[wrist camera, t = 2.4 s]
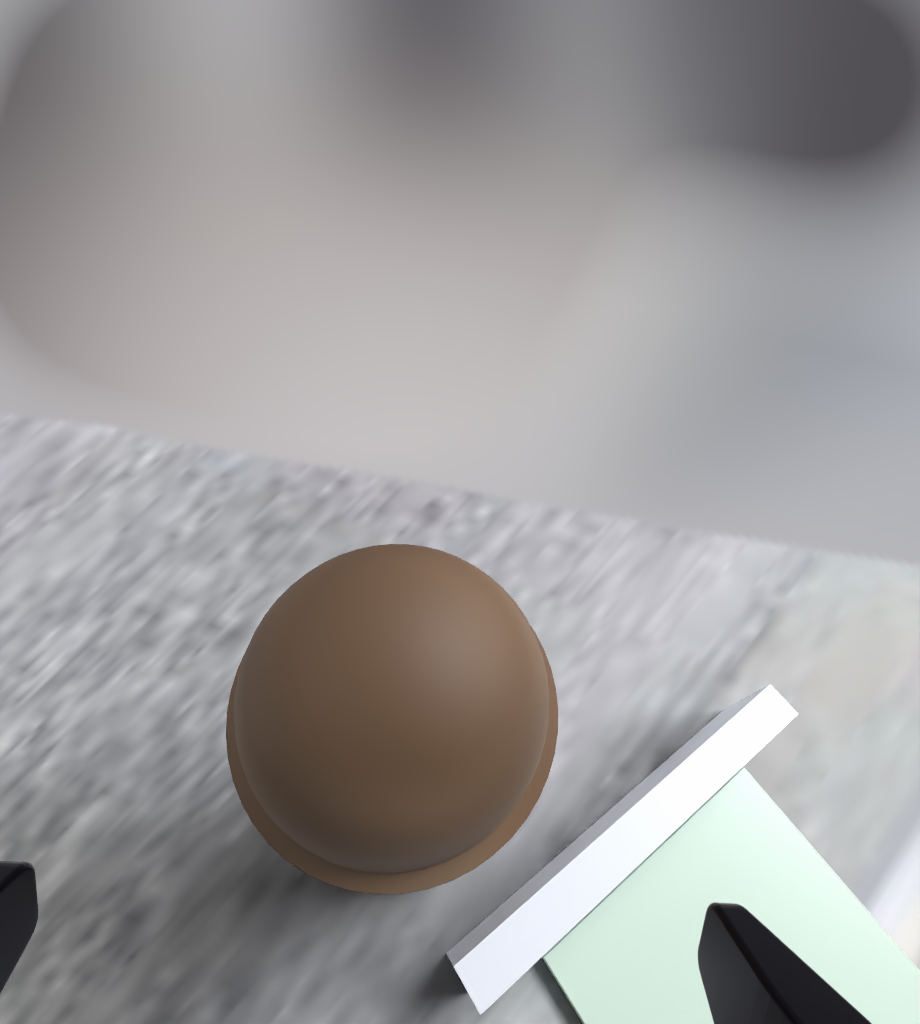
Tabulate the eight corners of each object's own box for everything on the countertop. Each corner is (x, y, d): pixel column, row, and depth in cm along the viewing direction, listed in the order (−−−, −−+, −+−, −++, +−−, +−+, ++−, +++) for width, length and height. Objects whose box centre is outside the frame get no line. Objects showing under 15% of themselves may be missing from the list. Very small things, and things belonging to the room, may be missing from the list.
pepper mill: (376, 927, 16) (297, 1034, 4) (298, 778, 17) (102, 587, 6) (507, 820, 17) (692, 701, 6) (424, 694, 19) (447, 420, 8)
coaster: (782, 1346, 12) (793, 1359, 12) (540, 956, 15) (544, 957, 15) (975, 1046, 15) (988, 1050, 15) (738, 769, 18) (744, 767, 18)
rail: (467, 993, 15) (480, 1015, 12) (445, 953, 15) (453, 966, 13) (746, 736, 19) (798, 713, 16) (722, 710, 19) (770, 684, 17)
